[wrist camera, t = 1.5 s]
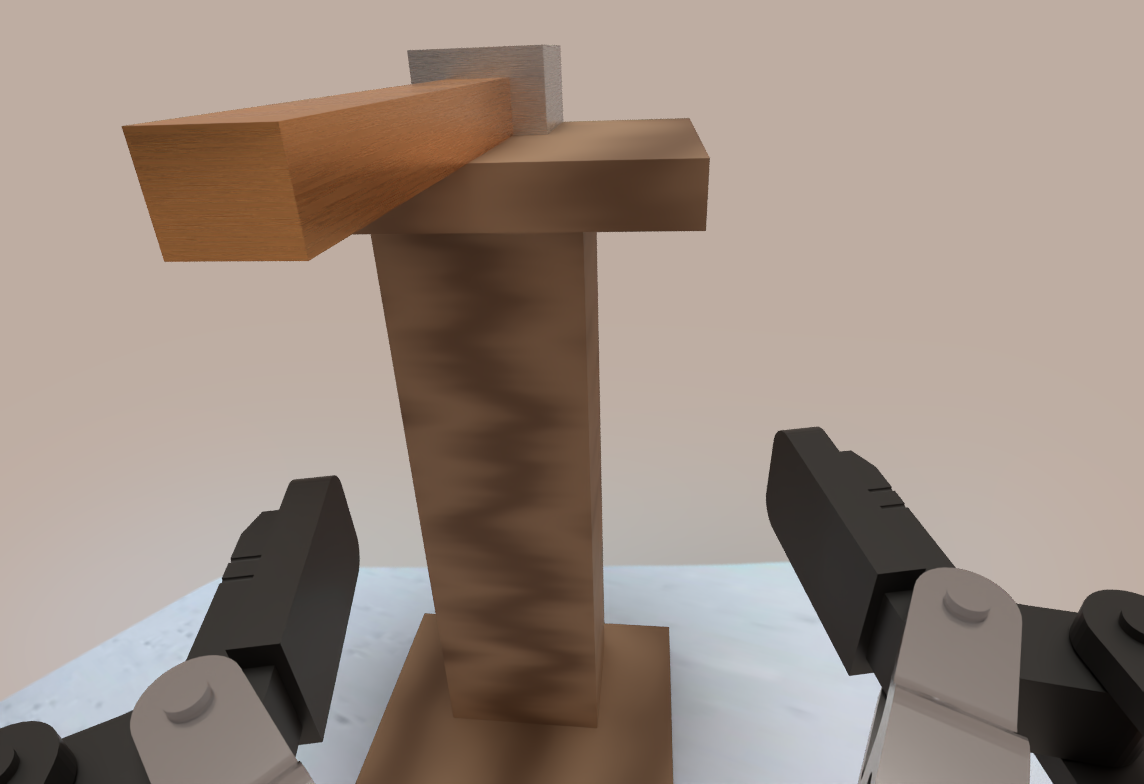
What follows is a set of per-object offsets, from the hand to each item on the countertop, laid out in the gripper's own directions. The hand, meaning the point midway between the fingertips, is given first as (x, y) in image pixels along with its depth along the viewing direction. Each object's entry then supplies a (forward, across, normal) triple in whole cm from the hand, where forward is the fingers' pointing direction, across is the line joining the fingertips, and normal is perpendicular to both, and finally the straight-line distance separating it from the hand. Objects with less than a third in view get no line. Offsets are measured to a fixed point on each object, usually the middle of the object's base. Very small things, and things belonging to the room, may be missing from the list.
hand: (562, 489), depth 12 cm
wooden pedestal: (+14, +2, +29) cm, 32 cm away
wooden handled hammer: (+12, +2, -4) cm, 12 cm away
